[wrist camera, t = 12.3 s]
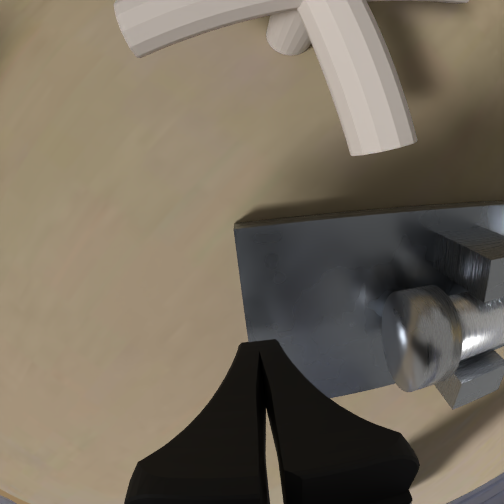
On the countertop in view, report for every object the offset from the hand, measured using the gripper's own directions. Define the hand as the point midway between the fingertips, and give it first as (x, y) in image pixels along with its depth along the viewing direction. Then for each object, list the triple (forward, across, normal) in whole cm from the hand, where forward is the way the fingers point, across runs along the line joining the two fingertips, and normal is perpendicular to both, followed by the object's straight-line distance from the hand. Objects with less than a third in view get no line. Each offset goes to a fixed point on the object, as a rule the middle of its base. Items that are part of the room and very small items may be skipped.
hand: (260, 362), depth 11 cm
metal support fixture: (+3, -13, 0) cm, 13 cm away
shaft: (+2, -12, 0) cm, 12 cm away
